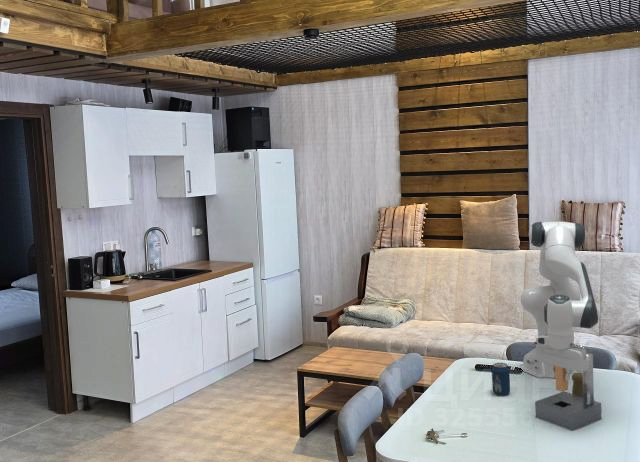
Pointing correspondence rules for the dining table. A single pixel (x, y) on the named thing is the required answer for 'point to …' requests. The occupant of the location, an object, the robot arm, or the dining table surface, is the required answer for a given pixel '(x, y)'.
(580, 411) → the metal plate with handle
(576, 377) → the cork
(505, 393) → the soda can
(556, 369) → the orange brown rectangular block
